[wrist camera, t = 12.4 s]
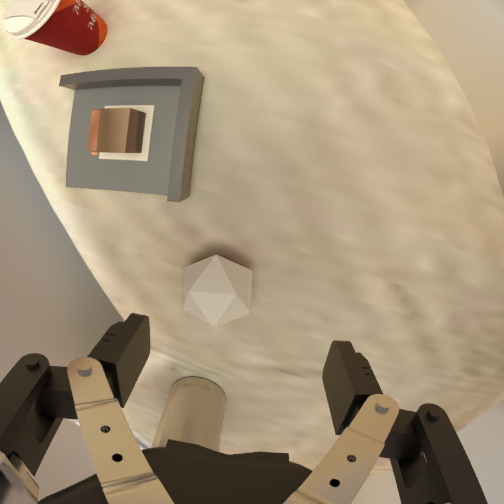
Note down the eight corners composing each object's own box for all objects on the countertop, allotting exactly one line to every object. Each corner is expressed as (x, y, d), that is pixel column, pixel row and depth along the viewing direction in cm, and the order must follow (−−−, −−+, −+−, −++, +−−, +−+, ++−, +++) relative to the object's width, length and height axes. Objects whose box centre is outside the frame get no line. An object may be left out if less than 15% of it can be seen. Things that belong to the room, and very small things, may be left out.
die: (177, 259, 40) (164, 327, 35) (210, 226, 34) (199, 305, 29) (229, 280, 44) (223, 344, 38) (267, 253, 38) (266, 327, 33)
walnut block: (146, 113, 33) (130, 107, 28) (141, 152, 34) (124, 153, 30) (110, 113, 33) (91, 108, 28) (106, 151, 34) (86, 152, 30)
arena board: (188, 196, 37) (179, 202, 32) (68, 186, 37) (49, 190, 32) (204, 77, 32) (196, 67, 28) (79, 81, 32) (61, 75, 28)
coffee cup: (125, 23, 30) (70, -23, 15) (89, 71, 32) (20, 45, 17) (90, 6, 28) (33, -33, 14) (56, 50, 30) (-10, 27, 16)
